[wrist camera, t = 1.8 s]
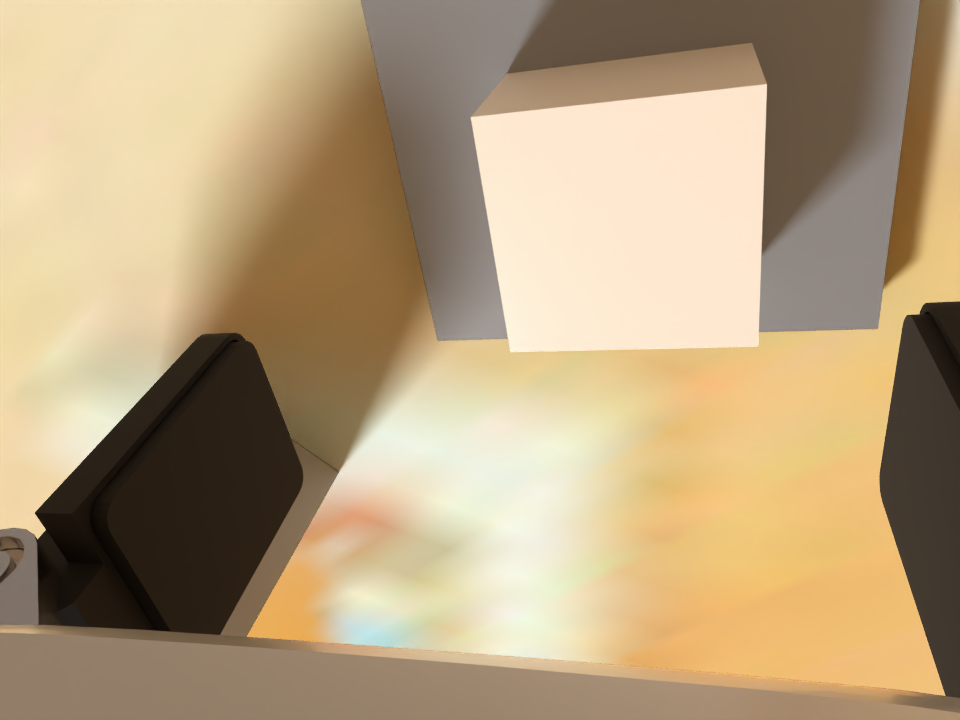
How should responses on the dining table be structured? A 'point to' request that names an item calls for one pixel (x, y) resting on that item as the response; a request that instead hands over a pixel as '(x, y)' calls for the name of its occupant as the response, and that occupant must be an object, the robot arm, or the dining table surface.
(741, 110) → the cream square block
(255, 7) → the dining table surface
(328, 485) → the perfume bottle
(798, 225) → the post base
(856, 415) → the dining table surface
